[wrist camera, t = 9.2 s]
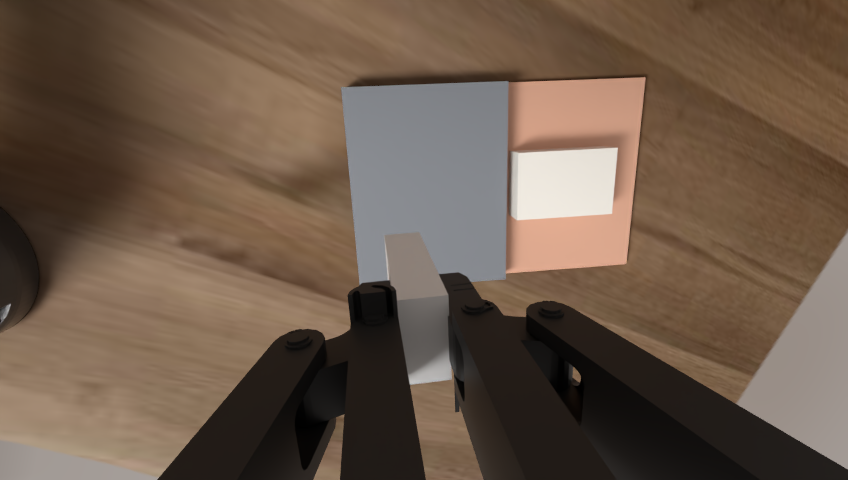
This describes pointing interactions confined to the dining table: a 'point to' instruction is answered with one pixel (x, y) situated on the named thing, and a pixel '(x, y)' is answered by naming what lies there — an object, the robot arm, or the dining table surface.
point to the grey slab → (430, 173)
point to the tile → (562, 182)
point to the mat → (568, 128)
